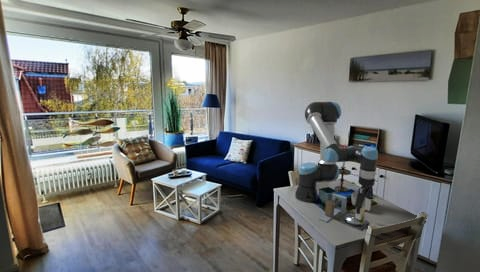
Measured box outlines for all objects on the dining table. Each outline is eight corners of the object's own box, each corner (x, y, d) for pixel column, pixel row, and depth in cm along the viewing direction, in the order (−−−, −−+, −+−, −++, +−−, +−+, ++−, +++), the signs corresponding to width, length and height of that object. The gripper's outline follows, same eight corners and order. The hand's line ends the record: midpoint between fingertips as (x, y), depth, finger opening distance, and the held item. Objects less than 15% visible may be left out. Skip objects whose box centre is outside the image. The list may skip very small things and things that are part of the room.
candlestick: (352, 191, 181) (357, 144, 174) (339, 193, 178) (343, 145, 172) (342, 186, 191) (346, 141, 185) (330, 187, 189) (333, 142, 182)
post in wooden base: (330, 217, 144) (332, 202, 142) (324, 214, 146) (326, 200, 144) (343, 206, 156) (345, 193, 154) (338, 205, 158) (339, 191, 157)
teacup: (371, 211, 152) (372, 199, 151) (352, 210, 154) (353, 197, 153) (365, 201, 165) (366, 190, 164) (347, 200, 168) (348, 188, 166)
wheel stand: (348, 215, 147) (348, 213, 147) (368, 222, 140) (368, 220, 140) (340, 222, 140) (340, 220, 140) (360, 230, 132) (361, 228, 132)
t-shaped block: (330, 224, 138) (331, 208, 136) (315, 218, 144) (316, 203, 143) (347, 210, 153) (348, 196, 152) (333, 205, 160) (334, 192, 158)
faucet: (340, 217, 142) (342, 200, 140) (354, 214, 146) (356, 197, 144) (355, 227, 133) (357, 208, 131) (369, 223, 136) (371, 205, 134)
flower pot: (317, 201, 166) (318, 188, 164) (327, 199, 169) (328, 186, 167) (326, 207, 158) (327, 193, 156) (337, 204, 161) (338, 191, 159)
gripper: (365, 185, 120) (361, 225, 125) (382, 173, 138) (377, 208, 142) (350, 181, 126) (346, 219, 130) (367, 169, 143) (364, 204, 147)
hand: (362, 214), depth 136 cm, fingers open, 13 cm apart
